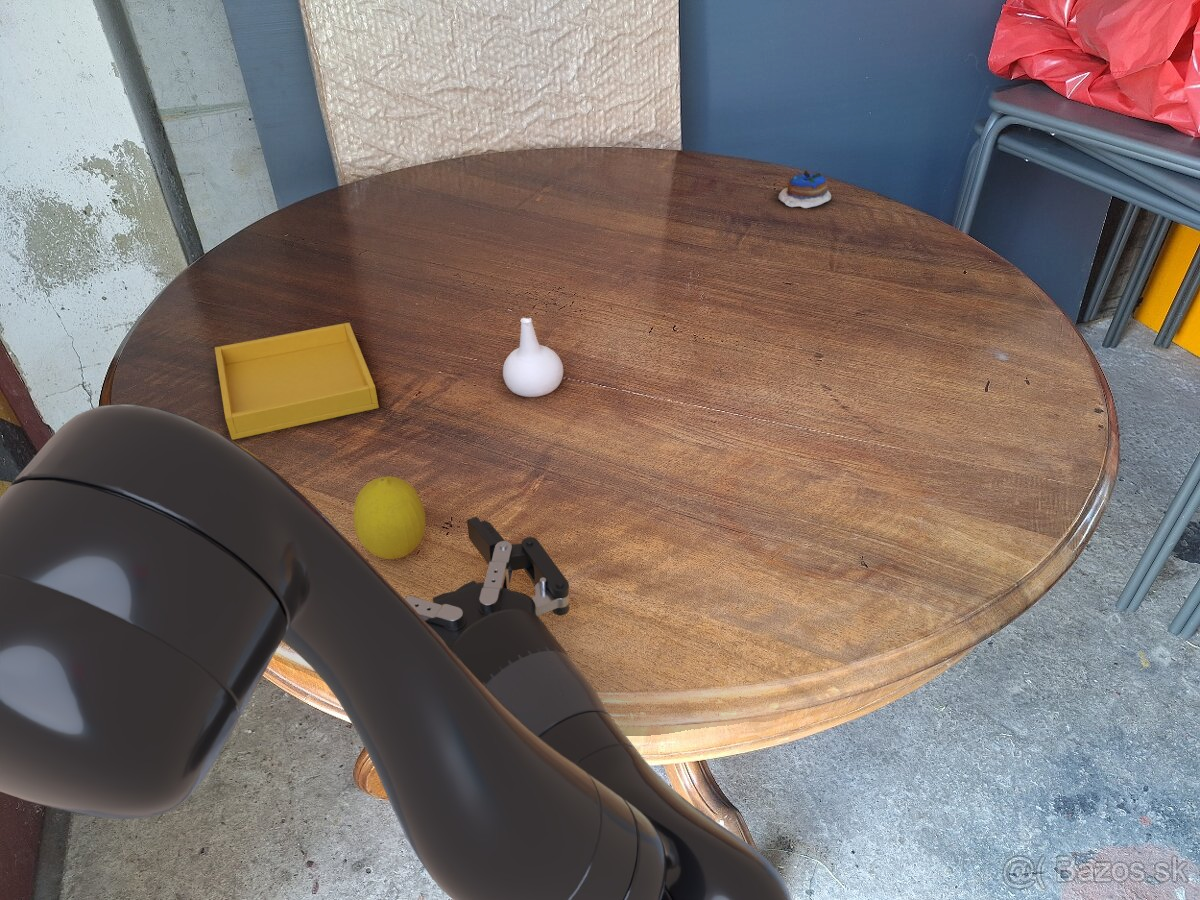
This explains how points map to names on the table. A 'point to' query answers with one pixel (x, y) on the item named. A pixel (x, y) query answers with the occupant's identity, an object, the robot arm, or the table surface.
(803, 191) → the dessert
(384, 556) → the lemon
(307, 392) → the yellow tray
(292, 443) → the table surface
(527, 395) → the garlic bulb
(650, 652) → the table surface
